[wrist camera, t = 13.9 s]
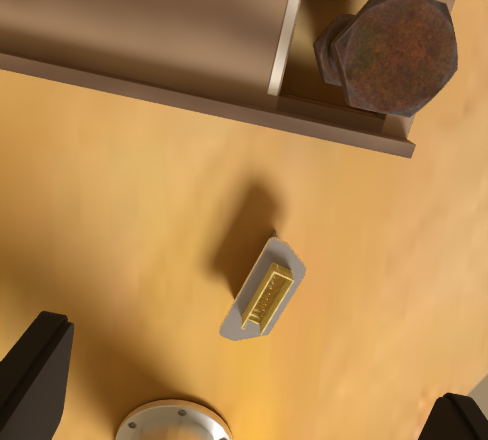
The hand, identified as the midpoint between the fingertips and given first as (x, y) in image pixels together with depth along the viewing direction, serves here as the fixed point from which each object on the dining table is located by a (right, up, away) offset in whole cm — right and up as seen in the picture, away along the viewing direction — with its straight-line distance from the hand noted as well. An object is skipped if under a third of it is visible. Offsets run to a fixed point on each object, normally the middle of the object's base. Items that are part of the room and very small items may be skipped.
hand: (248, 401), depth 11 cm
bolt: (+7, +17, +23) cm, 30 cm away
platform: (+2, 0, +30) cm, 31 cm away
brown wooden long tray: (-2, +19, +22) cm, 29 cm away
